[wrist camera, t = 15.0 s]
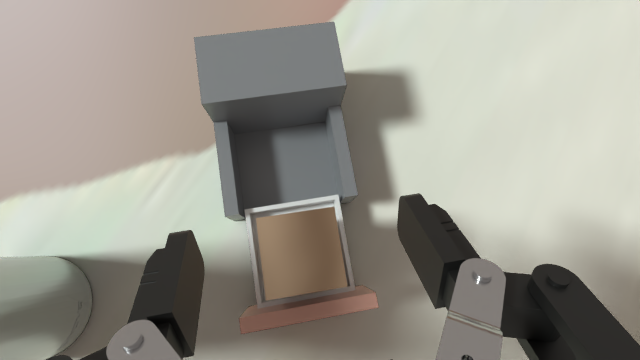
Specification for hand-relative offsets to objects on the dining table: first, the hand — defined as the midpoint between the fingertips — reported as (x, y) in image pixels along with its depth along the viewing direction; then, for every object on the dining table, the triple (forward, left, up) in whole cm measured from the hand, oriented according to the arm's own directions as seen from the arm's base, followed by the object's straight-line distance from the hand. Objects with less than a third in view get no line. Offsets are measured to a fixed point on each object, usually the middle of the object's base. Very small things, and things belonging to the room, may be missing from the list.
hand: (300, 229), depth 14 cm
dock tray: (+1, -1, -22) cm, 22 cm away
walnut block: (0, -1, -21) cm, 21 cm away
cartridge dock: (-5, +9, -23) cm, 25 cm away
